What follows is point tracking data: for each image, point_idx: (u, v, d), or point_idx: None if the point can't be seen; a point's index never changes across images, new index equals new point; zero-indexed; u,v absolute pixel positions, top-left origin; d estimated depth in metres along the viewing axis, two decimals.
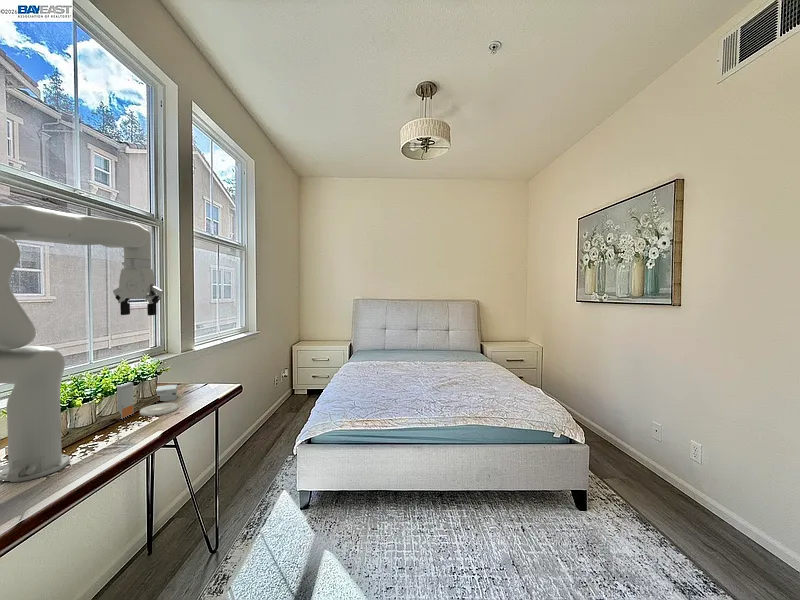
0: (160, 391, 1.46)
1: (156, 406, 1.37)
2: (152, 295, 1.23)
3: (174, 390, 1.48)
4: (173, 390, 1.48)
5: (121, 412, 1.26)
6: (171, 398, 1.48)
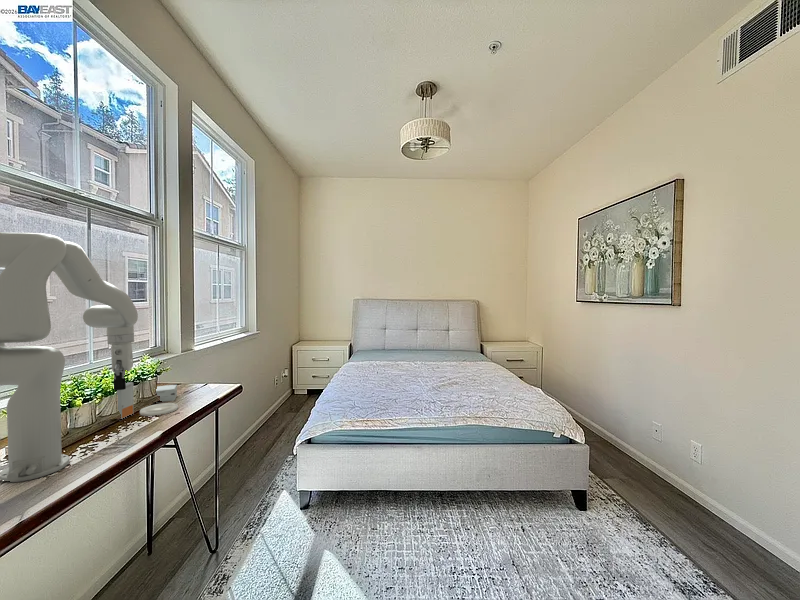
0: (159, 391, 1.46)
1: (156, 406, 1.37)
2: (121, 365, 1.32)
3: (173, 390, 1.48)
4: (172, 390, 1.48)
5: (121, 412, 1.26)
6: (170, 399, 1.48)
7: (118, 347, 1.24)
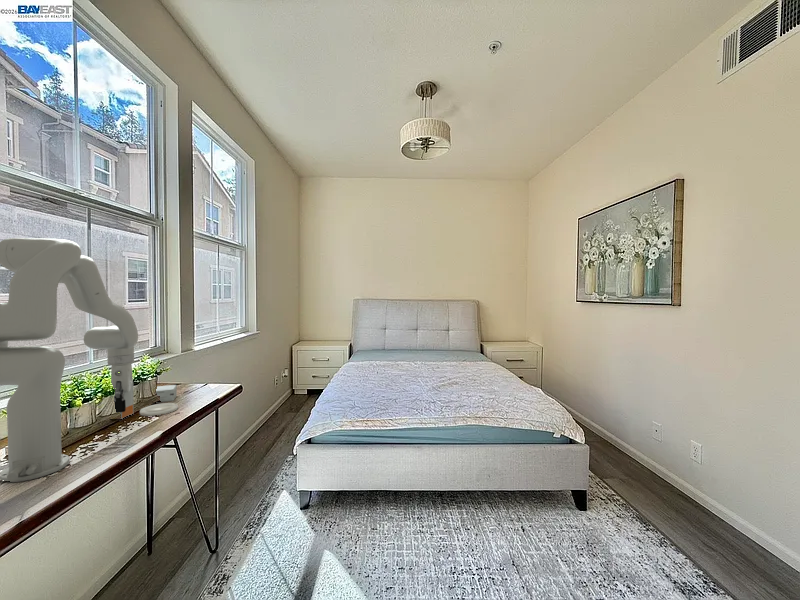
0: (158, 391, 1.46)
1: (156, 406, 1.37)
2: None
3: (172, 391, 1.48)
4: (171, 391, 1.47)
5: (121, 412, 1.26)
6: (169, 399, 1.47)
7: (118, 368, 1.24)
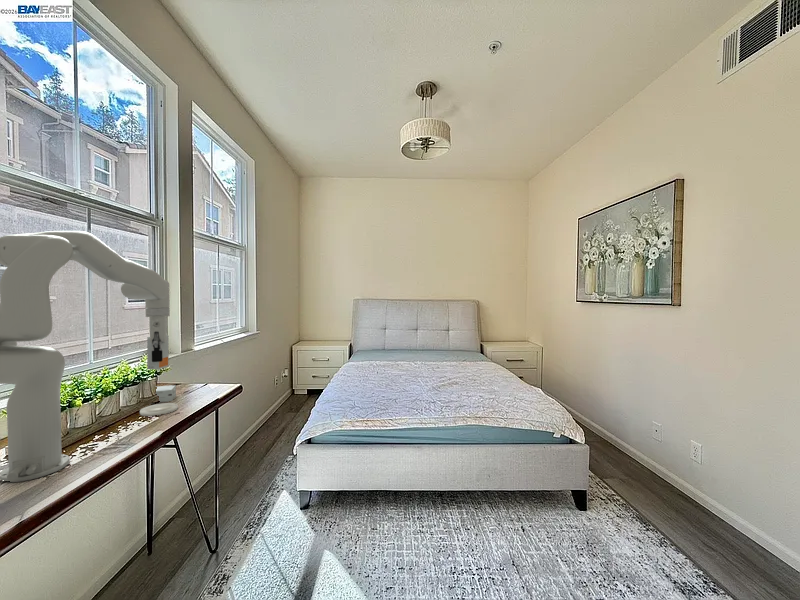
0: (156, 392, 1.45)
1: (156, 406, 1.37)
2: None
3: (170, 391, 1.47)
4: (169, 391, 1.47)
5: (158, 362, 1.32)
6: (167, 399, 1.47)
7: (156, 319, 1.31)
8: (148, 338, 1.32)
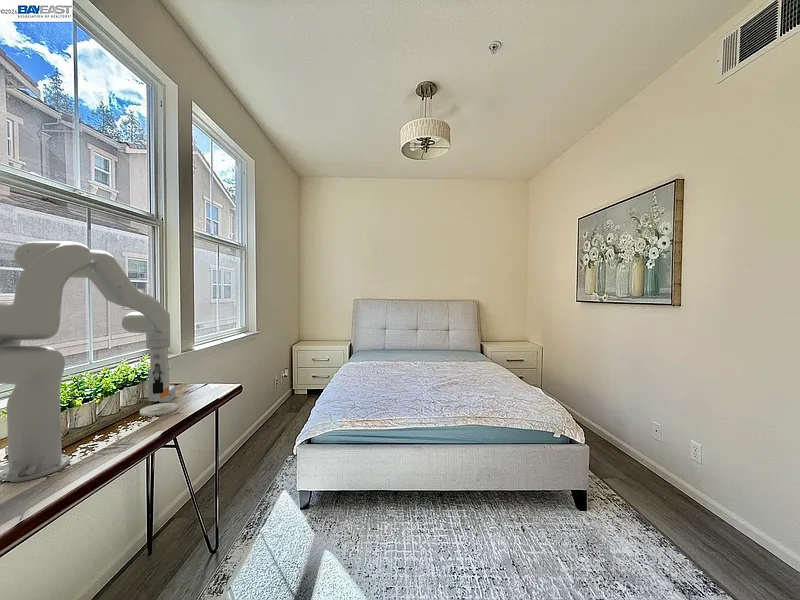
0: None
1: (156, 406, 1.37)
2: None
3: (169, 391, 1.46)
4: None
5: (159, 393, 1.33)
6: (166, 400, 1.46)
7: (157, 351, 1.31)
8: (149, 370, 1.32)
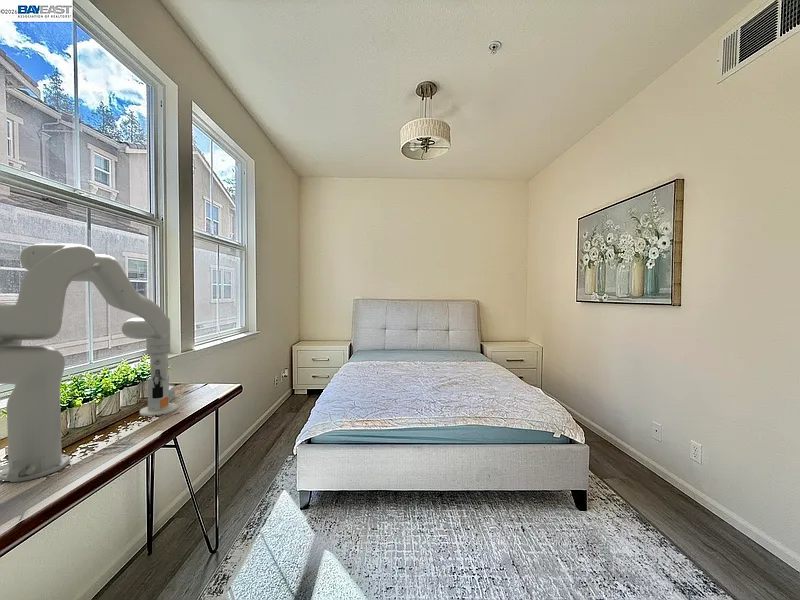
0: None
1: None
2: None
3: None
4: None
5: (159, 403, 1.33)
6: None
7: (157, 357, 1.31)
8: (149, 379, 1.32)
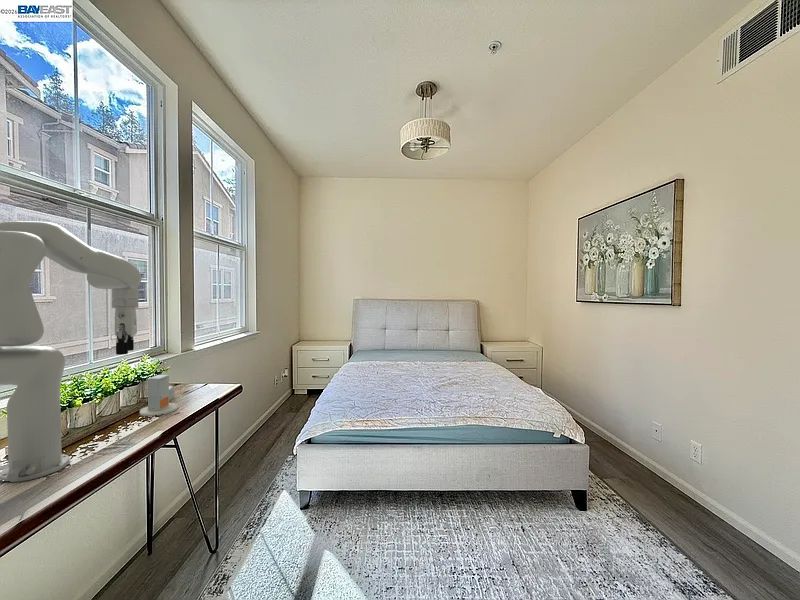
0: None
1: None
2: None
3: None
4: None
5: (159, 403, 1.33)
6: None
7: (122, 310, 1.23)
8: (149, 379, 1.32)
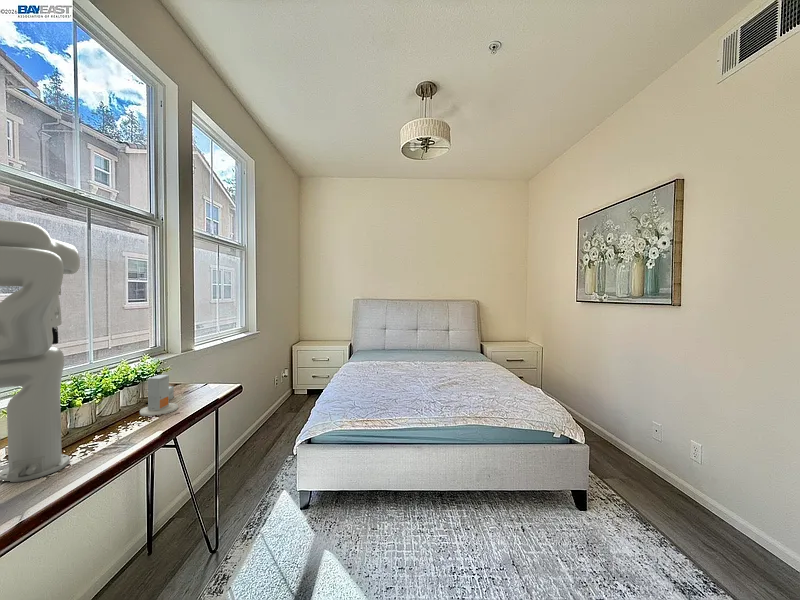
0: None
1: None
2: None
3: None
4: None
5: (159, 403, 1.33)
6: None
7: None
8: (149, 379, 1.32)
